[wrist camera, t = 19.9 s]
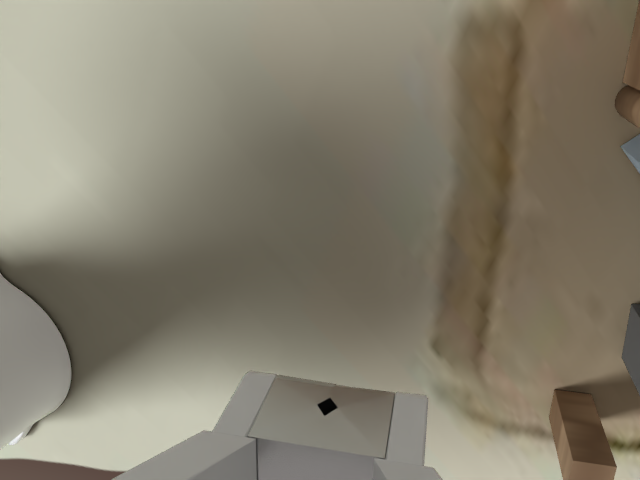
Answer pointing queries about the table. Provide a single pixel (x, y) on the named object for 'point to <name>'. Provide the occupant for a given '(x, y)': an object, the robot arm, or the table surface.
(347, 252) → the table surface
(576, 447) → the block
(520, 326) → the table surface
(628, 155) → the gate
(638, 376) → the block
